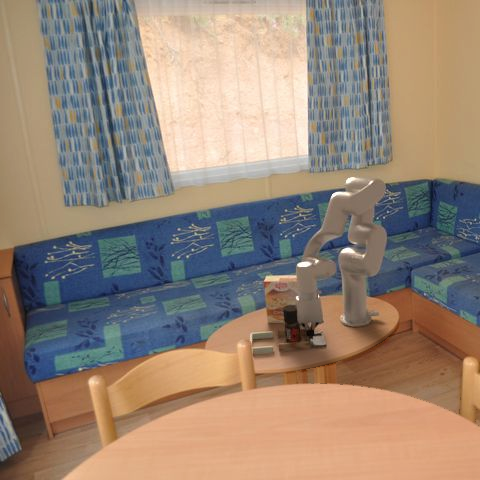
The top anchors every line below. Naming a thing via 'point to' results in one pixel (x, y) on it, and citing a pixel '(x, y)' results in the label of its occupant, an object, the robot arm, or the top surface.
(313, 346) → the tray
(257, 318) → the top surface
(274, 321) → the coffeecake box
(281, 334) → the channel
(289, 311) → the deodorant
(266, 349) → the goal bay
